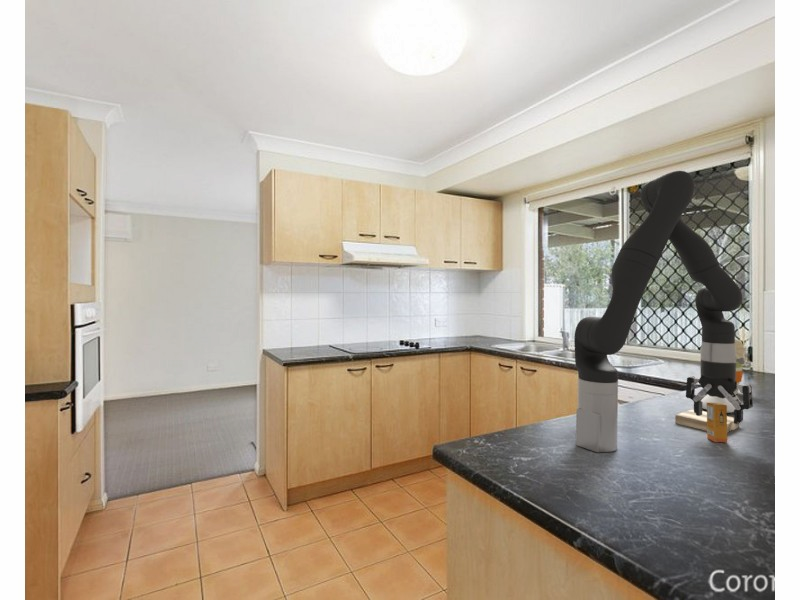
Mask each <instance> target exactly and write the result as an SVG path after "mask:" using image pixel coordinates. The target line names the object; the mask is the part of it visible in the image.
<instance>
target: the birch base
mask: <svg viewBox="0 0 800 600" xmlns="http://www.w3.org/2000/svg"><path fill="white" fill-rule="evenodd" d="M674 415H675V419H674V421H675V422H674V423H675V424H678V425H682V426H686V427H689V428H695V429H698V430H703V431H706V432H707V411H704V410H702V415H701V416H697V415H696V413H694V408H692V409H689V410H685V411H683V412H679V413H678V414H674ZM738 427H739V428H740V423H739V424H734V416H728V415H727V433H729V431H730V432H731V430H732V431H734V430H736V429H739V428H738Z"/></svg>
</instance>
